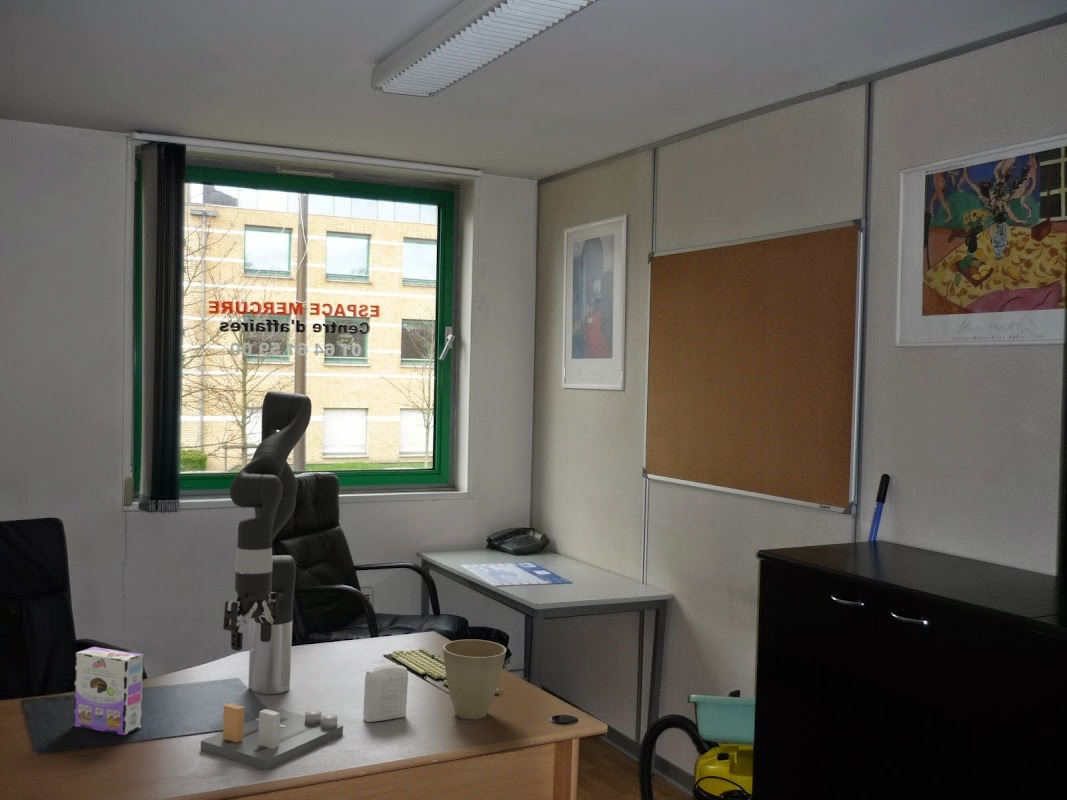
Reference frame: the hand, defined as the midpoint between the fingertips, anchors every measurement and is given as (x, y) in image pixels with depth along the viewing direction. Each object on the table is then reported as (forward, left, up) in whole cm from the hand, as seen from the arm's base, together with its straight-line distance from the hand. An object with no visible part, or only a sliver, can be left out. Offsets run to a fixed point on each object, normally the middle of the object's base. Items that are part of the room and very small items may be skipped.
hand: (251, 645), depth 215 cm
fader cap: (-1, -3, -19) cm, 20 cm away
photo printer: (+13, +31, -22) cm, 40 cm away
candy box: (-32, -9, -22) cm, 40 cm away
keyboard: (+5, +67, -22) cm, 71 cm away
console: (+3, +5, -22) cm, 22 cm away
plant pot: (+28, +45, -22) cm, 57 cm away
